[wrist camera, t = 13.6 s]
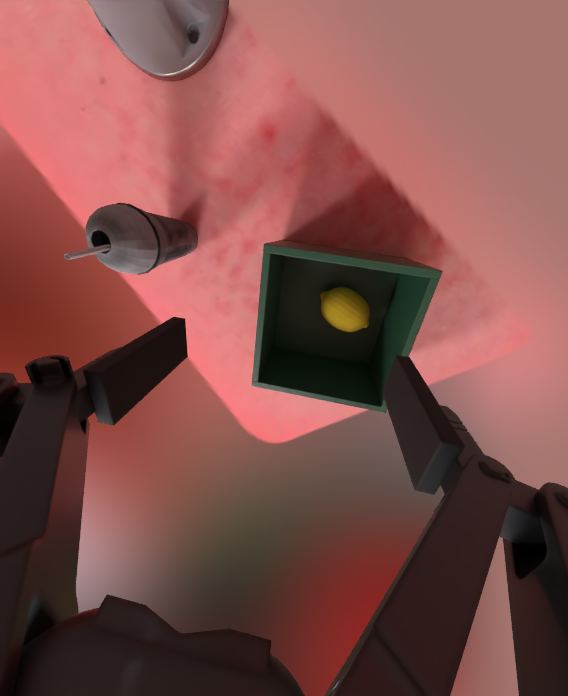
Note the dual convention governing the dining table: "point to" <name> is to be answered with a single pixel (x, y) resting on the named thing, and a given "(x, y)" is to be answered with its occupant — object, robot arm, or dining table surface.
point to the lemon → (344, 309)
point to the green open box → (324, 339)
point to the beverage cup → (135, 239)
